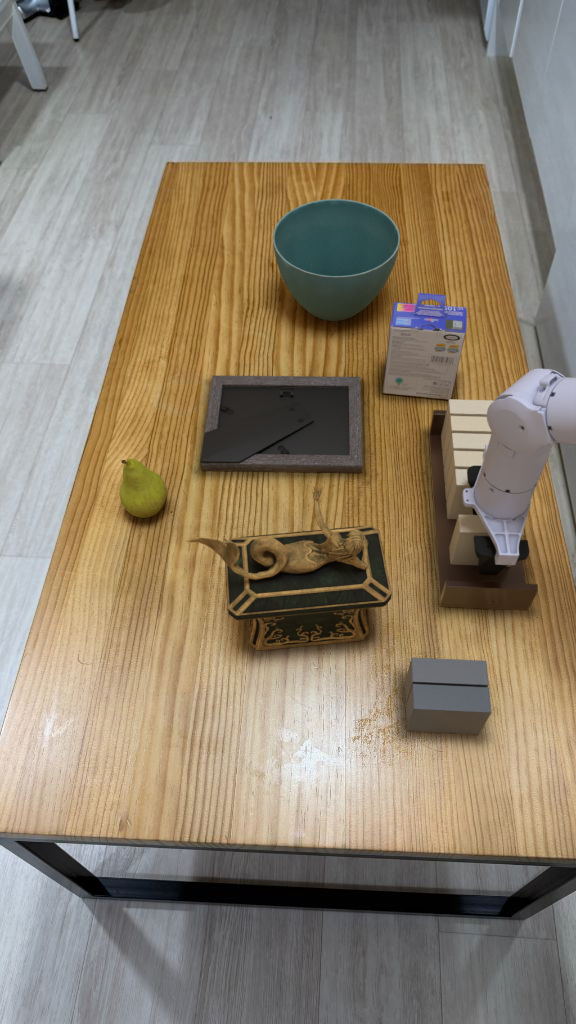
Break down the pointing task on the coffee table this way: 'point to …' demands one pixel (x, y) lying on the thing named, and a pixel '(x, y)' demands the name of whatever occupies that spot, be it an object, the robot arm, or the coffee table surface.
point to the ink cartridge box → (424, 348)
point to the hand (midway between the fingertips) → (484, 543)
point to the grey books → (447, 696)
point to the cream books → (463, 448)
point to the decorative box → (304, 583)
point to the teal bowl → (335, 255)
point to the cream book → (466, 540)
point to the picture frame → (283, 424)
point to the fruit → (141, 489)
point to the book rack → (464, 581)
